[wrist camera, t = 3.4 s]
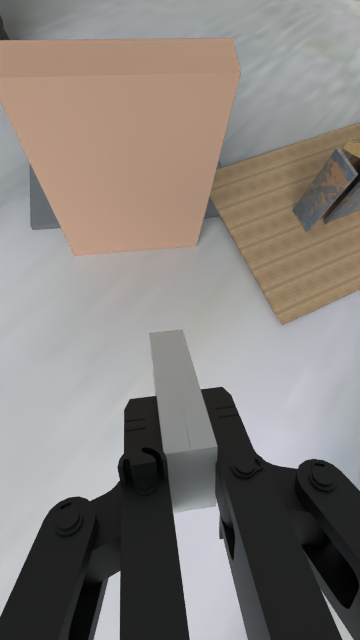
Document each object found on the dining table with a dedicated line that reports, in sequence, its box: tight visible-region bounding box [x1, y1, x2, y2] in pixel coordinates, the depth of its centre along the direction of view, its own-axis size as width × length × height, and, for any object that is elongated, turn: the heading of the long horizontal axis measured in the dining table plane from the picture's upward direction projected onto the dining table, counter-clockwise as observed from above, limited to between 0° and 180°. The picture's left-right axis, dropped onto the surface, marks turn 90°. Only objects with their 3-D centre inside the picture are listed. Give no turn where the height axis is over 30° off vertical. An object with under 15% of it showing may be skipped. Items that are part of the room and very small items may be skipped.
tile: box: [0, 38, 241, 256], centre depth 23 cm, size 11×2×16 cm, turn 97°
